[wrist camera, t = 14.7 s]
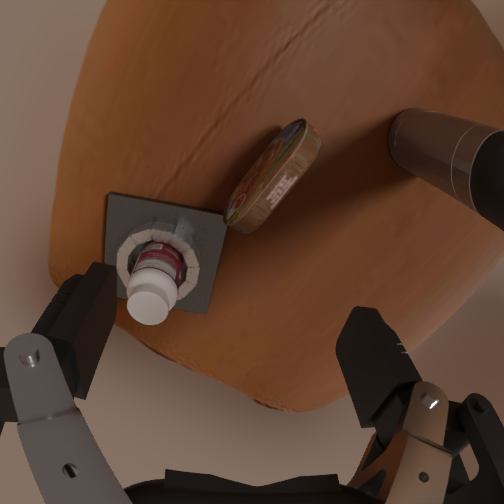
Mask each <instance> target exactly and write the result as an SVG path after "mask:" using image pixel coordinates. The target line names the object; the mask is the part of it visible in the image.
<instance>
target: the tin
mask: <svg viewBox="0 0 504 504" xmlns="http://www.w3.org/2000/svg"><path fill="white" fill-rule="evenodd" d="M321 141H322V139H321V135H320V134H319V132H318V131H317V130H316V129H315V128H314V127H312V126H311V125H310V124H309V123H308V122H307V120H306V119H303V118H301V119H297V120H295V121H293V122H292V123H290V124H289V125H287V126H286V127H285V128H284V129H283V130H282V131H281V132H280V133H279V134H278V135H277V136H276V137H275V138H274V139H273V141H272V142H271V143H270V144H269V146H268V147H267V148H266V149H265V151H264V152H263V153H262V154H261V156H260V157H259V158H258V160H257V161H256V162H255V163H254V165H253V166H252V167H251V168H250V170H249V171H248V172H247V174H246V175H245V176H244V177H243V179H242V180H241V181H240V183H239V184H238V185H237V187H236V188H235V190H234V191H233V193H232V195H231V196H230V198H229V200H228V202H227V205H226V207H225V210H224V214H223V223H224V224H225V225H227V226H229V227H231V228H233V229H234V230H236V231H238V232H239V233H242V234H248V233H251V232H253V231H255V230H256V229H257V228H259V227H260V226H261V225H262V224H263V223H264V222H265V221H266V220H267V219H268V217H269V216H270V215H271V214H272V213H273V211H274V210H275V209H276V208H277V207H278V205H279V204H280V203H281V202H282V201H283V199H284V198H285V197H286V196H287V194H288V193H289V192H290V191H291V190H292V188H293V187H294V186H295V185H296V183H297V182H298V181H299V180H300V179H301V177H302V176H303V175H304V174H305V172H306V171H307V170H308V169H309V167H310V166H311V165H312V163H313V162H314V160H315V158H316V157H317V155H318V152H319V150H320V147H321Z"/></svg>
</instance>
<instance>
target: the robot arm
mask: <svg viewBox="0 0 504 504" xmlns="http://www.w3.org/2000/svg"><path fill="white" fill-rule="evenodd" d="M388 145H389V150H390V153H391V156H392V157H393V159H394V161H395V162H396V163H397V164H398V165H399V166H400V167H402V168H403V169H405V170H407V171H408V172H410V173H412V174H414V175H416V176H417V177H419V178H421V179H423V180H424V181H426V182H428V183H430V184H431V185H433V186H435V187H436V188H438V189H440V190H441V191H443V192H445V193H446V194H448V195H450V196H451V197H453V198H455V199H456V200H458V201H459V202H461V203H463V204H464V205H466V206H468V207H469V208H471V209H472V210H474V211H475V212H477V213H478V214H480V215H481V216H482V217H484V218H485V219H487V220H488V221H490V222H491V223H493V224H494V225H496V226H497V227H499V228H500V229H501V230H503V231H504V130H502V129H499V128H496V127H492V126H489V125H485V124H482V123H478V122H475V121H471V120H467V119H463V118H459V117H455V116H451V115H447V114H443V113H438V112H434V111H429V110H425V109H420V108H410V109H406V110H405V111H403V112H401V113H400V114H399V115H398V116H397V117H396V118H395V119H394V121H393V122H392V125H391V127H390V130H389V135H388ZM116 311H117V267H116V266H114V265H109V264H104V263H99V262H93V263H92V264H91V266H90V267H89V269H88V270H87V272H86V273H85V275H80V274H75V275H74V276H72V277H71V278H69V279H68V280H66V281H65V282H64V283H63V284H62V286H61V287H60V289H59V290H58V293H57V294H56V295H55V296H54V298H53V299H52V302H50V303H49V305H48V306H47V308H46V310H45V311H44V313H43V314H42V316H41V317H40V319H39V320H38V322H37V323H36V325H35V327H34V328H33V330H32V332H31V333H26V334H22V335H19V336H16V337H15V338H13V339H12V340H11V341H10V342H9V343H8V344H7V345H6V347H0V435H1V432H2V429H3V426H4V423H5V421H6V422H19V423H18V424H17V429H18V433H19V437H20V440H21V443H22V446H23V449H24V452H25V455H26V457H27V460H28V463H29V466H30V468H31V471H32V473H33V476H34V478H35V481H36V483H37V485H38V488H39V490H40V492H41V495H42V497H43V499H44V501H45V503H46V504H504V427H503V425H502V423H501V421H500V419H499V417H498V415H497V413H496V411H495V410H494V408H493V406H492V405H491V403H490V402H489V401H488V400H487V399H486V398H485V397H484V396H482V395H480V394H477V393H472V394H470V395H468V396H467V398H466V399H465V400H464V401H463V402H462V403H458V402H454V401H449V400H448V398H447V396H446V394H445V393H444V392H443V390H442V389H441V388H440V387H438V386H437V385H435V384H433V383H431V382H428V381H422V379H421V377H420V375H419V373H418V371H417V370H416V368H415V366H414V364H413V362H412V360H411V359H410V357H409V355H408V354H406V350H405V348H404V346H403V345H401V344H402V343H401V341H400V339H399V338H398V336H397V334H396V333H395V332H394V331H393V330H392V329H391V328H390V327H389V326H388V325H387V324H386V323H385V322H384V320H383V319H382V317H381V315H380V313H379V312H378V310H377V309H375V308H368V307H360V306H356V307H354V308H353V310H352V311H351V313H350V315H349V317H348V319H347V321H346V323H345V325H344V327H343V329H342V331H341V333H340V335H339V337H338V340H337V343H336V356H337V359H338V361H339V364H340V367H341V370H342V373H343V375H344V378H345V381H346V384H347V387H348V390H349V393H350V396H351V398H352V401H353V404H354V407H355V410H356V413H357V416H358V419H359V422H360V425H361V428H369V427H375V429H376V432H375V433H374V434H373V435H372V437H371V440H370V442H369V444H368V446H367V448H366V451H365V453H364V455H363V457H362V460H361V462H360V464H359V466H358V468H357V470H356V472H355V474H354V476H353V478H352V479H351V481H350V482H349V483H348V484H347V485H346V486H345V485H341V484H339V480H338V475H337V474H329V475H316V476H299V477H296V478H292V479H288V480H285V481H281V482H277V483H273V484H269V485H264V486H257V487H256V486H251V485H247V484H243V483H239V482H235V481H232V480H228V479H224V478H220V477H217V476H214V475H211V474H200V473H191V472H182V471H175V470H168V469H165V479H156V480H150V481H144V482H141V483H137V484H134V485H131V486H129V487H126V488H124V489H123V488H122V487H121V485H120V483H119V482H118V480H117V478H116V477H115V475H114V473H113V472H112V470H111V468H110V466H109V465H108V463H107V461H106V459H105V458H104V456H103V454H102V452H101V451H100V449H99V447H98V445H97V443H96V441H95V439H94V437H93V435H92V433H91V431H90V429H89V427H88V425H87V423H86V421H85V419H84V417H83V415H82V413H81V411H80V409H79V408H77V406H76V404H75V402H74V400H73V399H74V397H77V398H80V399H84V400H86V397H87V393H88V391H89V388H90V385H91V382H92V379H93V377H94V374H95V371H96V368H97V365H98V363H99V360H100V357H101V354H102V352H103V349H104V347H105V344H106V342H107V339H108V336H109V334H110V331H111V329H112V326H113V324H114V321H115V317H116ZM469 444H470V445H471V447H472V449H473V452H474V454H475V456H476V459H477V461H478V464H479V472H478V475H477V476H476V478H474V479H473V480H471V481H470V480H469V478H468V475H467V472H466V470H465V467H464V465H463V462H462V460H461V457H460V455H459V453H460V452H461V451H462V450H463V449H464V448H466V447H467V446H468V445H469Z"/></svg>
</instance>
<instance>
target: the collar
mask: <svg viewBox="0 0 504 504" xmlns="http://www.w3.org/2000/svg"><path fill="white" fill-rule="evenodd" d="M223 214H224V213H222V212H217V211H212V210H207V209H202V208H197V207H192V206H187V205H182V204H176V203H171V202H166V201H160V200H155V199H150V198H144V197H139V196H133V195H128V194H122V193H116V192H110V193H109V197H108V208H107V221H106V238H105V264H109V265H114V266H116V267H117V297H118V298H123V299H127V300H128V296H127V284H128V280H129V278H130V275H131V273H132V270H133V268H134V266H135V263H136V261H137V258H138V256H139V254H140V252H141V250H142V249H143V248H144V247H145V246H146V245H147V244H149V243H151V242H154V241H160V242H165V243H169V244H170V245H172V246H173V247H174V248H176V249H177V250H178V251H179V252H180V254H181V256H182V260H183V267H182V273H181V279H180V285H179V290H178V296H177V300H176V303H175V305H174V306H173V308H174V309H180V310H185V311H191V312H197V313H203V314H207V310H208V305H209V301H210V297H211V293H212V288H213V284H214V280H215V276H216V271H217V267H218V263H219V259H220V255H221V251H222V246H223V242H224V238H225V234H226V230H227V225H225V224H224V223H223Z"/></svg>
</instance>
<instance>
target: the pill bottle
mask: <svg viewBox="0 0 504 504" xmlns="http://www.w3.org/2000/svg"><path fill="white" fill-rule="evenodd" d="M182 267H183V260H182V256H181V254H180V252H179V251H178V250H177V249H176V248H174V247H173V246H172V245H170V244H169V243H165V242H160V241H154V242H151V243H149V244H147V245H146V246H145V247H144V248H143V249H142V250H141V252H140V254H139V256H138V258H137V261H136V263H135V266H134V268H133V270H132V273H131V275H130V278H129V280H128V284H127V296H128V302H127V309H128V311H129V313H130V315H131V316H132V317H133V318H134V319H135V320H136V321H138V322H140V323H143V324H146V325H156V324H159V323H161V322H163V321H164V320H165V319H166V317H167V315H168V311H169V310H171V309H172V308H173V306H174V305H175V303H176V300H177V296H178V290H179V285H180V279H181V273H182Z"/></svg>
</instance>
